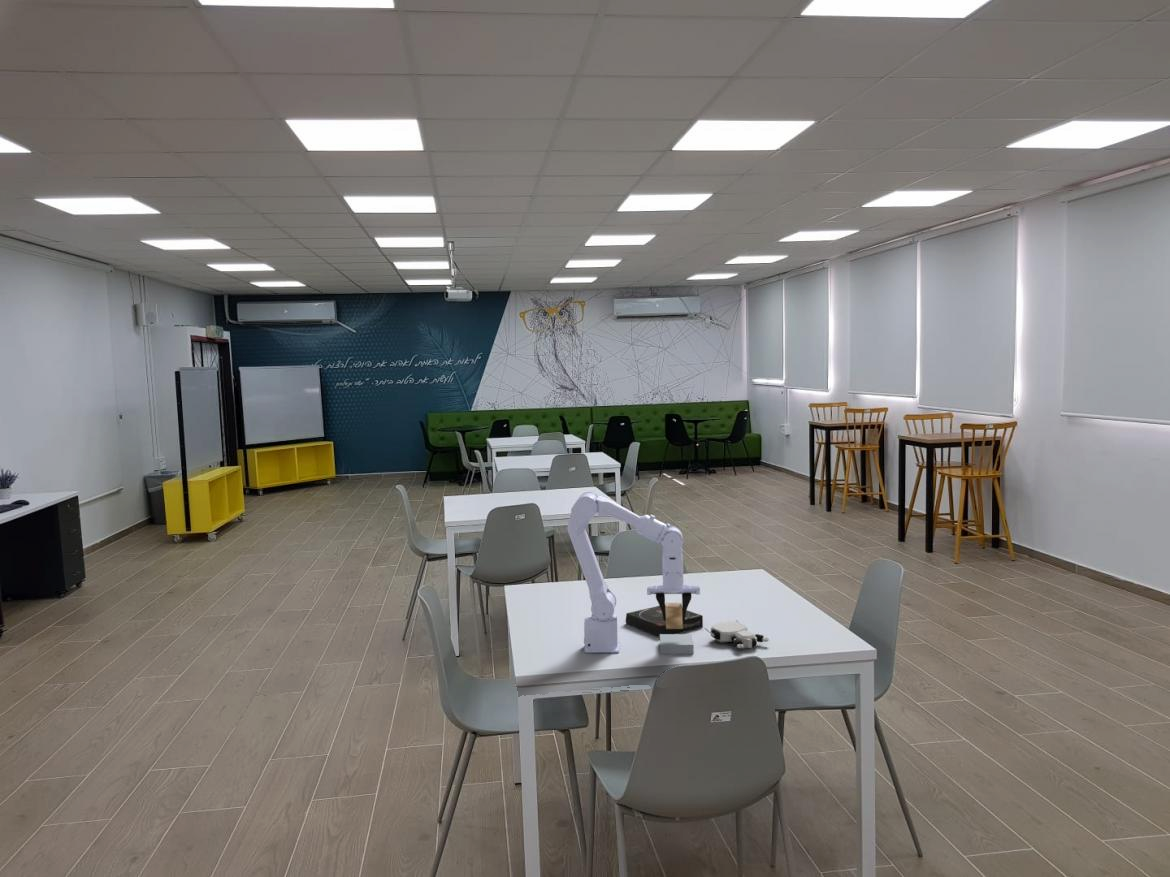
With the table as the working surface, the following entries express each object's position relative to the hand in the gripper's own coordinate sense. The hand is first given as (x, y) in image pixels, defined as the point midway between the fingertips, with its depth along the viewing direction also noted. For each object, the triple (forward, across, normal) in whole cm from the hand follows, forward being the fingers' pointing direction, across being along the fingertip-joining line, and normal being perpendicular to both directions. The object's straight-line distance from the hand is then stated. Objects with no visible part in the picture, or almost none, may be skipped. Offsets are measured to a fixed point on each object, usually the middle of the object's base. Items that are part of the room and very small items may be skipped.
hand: (673, 619), depth 224 cm
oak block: (+2, 0, 0) cm, 2 cm away
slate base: (+9, 0, +1) cm, 9 cm away
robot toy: (+9, +18, +5) cm, 20 cm away
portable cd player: (+9, -3, +22) cm, 24 cm away
